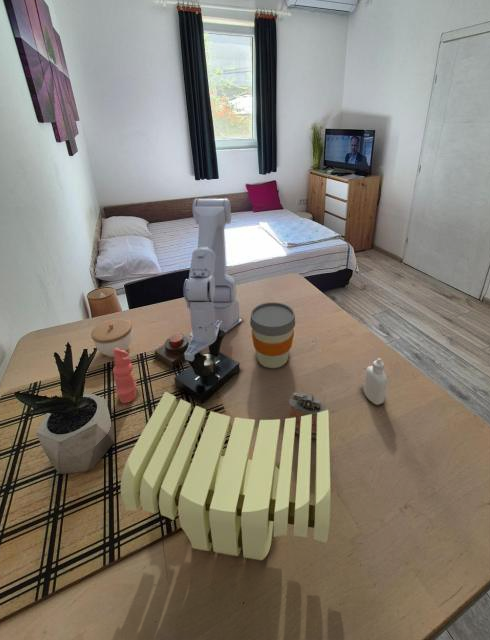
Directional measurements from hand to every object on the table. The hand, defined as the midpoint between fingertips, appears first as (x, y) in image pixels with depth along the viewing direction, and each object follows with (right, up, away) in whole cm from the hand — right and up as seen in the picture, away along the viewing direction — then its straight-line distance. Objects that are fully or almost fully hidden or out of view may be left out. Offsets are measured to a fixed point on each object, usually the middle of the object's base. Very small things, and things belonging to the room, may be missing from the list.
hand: (207, 364), depth 85 cm
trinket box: (-30, 0, +13) cm, 32 cm away
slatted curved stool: (+11, -17, -27) cm, 34 cm away
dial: (0, -2, +1) cm, 2 cm away
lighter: (+25, -11, -12) cm, 29 cm away
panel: (0, -4, +2) cm, 5 cm away
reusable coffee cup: (+17, -1, +10) cm, 20 cm away
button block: (-11, 0, +11) cm, 16 cm away
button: (-11, +3, +10) cm, 15 cm away
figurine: (-19, -7, -4) cm, 21 cm away
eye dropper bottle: (+43, -7, -3) cm, 43 cm away
